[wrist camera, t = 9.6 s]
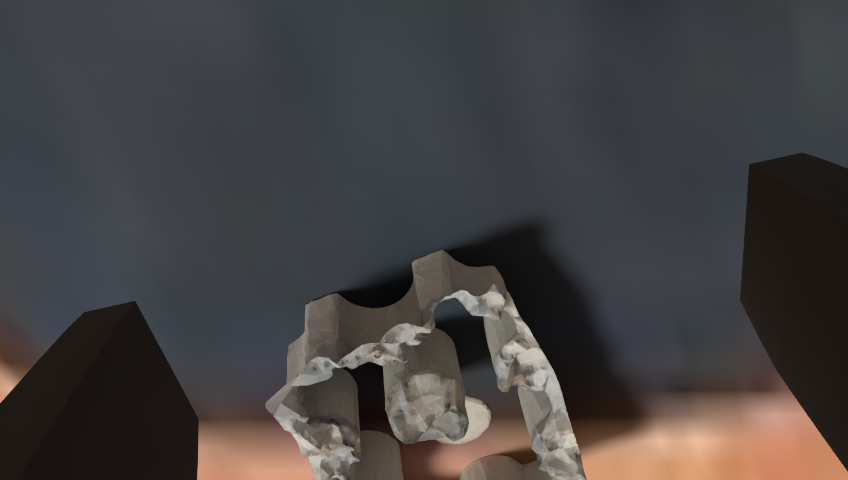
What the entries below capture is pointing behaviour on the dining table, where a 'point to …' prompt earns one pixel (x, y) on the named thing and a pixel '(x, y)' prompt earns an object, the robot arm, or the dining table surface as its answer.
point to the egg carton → (419, 381)
